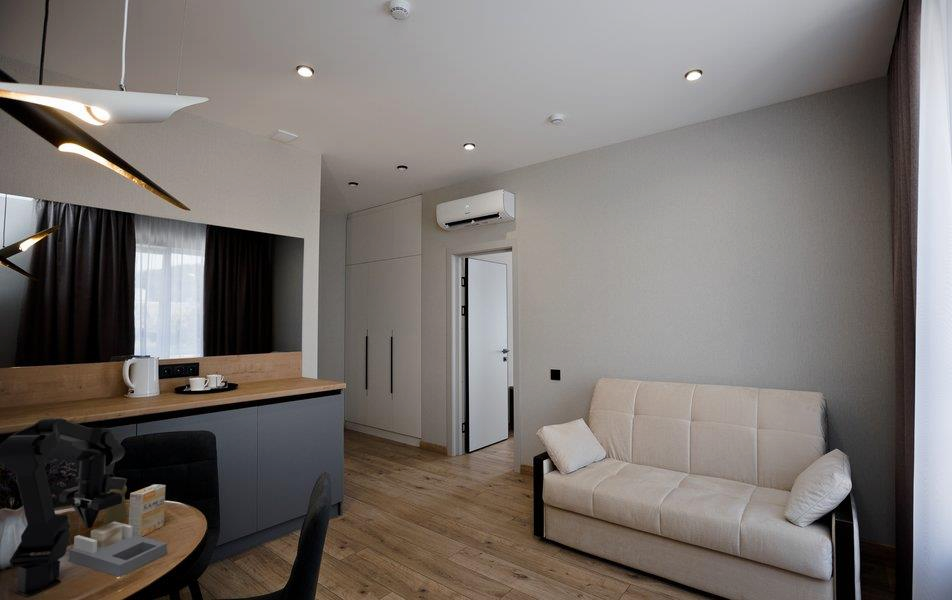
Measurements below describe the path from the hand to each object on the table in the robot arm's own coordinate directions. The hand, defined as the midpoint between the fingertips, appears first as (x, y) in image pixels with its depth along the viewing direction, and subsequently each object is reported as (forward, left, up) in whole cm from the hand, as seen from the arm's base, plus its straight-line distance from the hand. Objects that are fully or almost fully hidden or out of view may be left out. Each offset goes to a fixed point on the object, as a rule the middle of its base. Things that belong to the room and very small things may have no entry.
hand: (89, 527), depth 127 cm
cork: (+15, +14, -6) cm, 21 cm away
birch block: (0, -7, -3) cm, 8 cm away
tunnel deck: (0, -13, -6) cm, 14 cm away
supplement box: (+13, -4, -6) cm, 15 cm away
